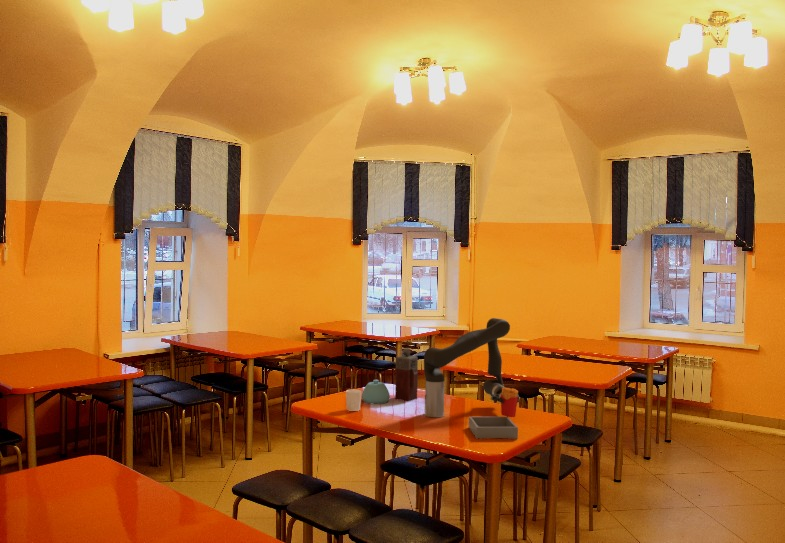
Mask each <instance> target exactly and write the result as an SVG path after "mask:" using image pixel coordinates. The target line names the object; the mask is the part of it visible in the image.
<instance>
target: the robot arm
mask: <svg viewBox="0 0 785 543" xmlns="http://www.w3.org/2000/svg"><path fill="white" fill-rule="evenodd" d="M510 329H511V325H510V322H509V321H507V320H506V319H503V318H497V317H492V318H490V319H489V320H488V321H487V323H486V328H481V329H477V330H476V329H475V330H472V331H468V332H466V333H464V334H462V335H460V336H459V337H458V338H457V339H456V340H455V341H454V342H453V344H451V345H449V346H447V347H444V348H436V347H428V349H426V350H425V353H424V354H423V373H424V378H425V394H424V415H425V417H429V418H442V417H444V415H445V414H444V413H445V375H444V373H442V372H443V371H441V368H444V367H445V366H447V365H449V364H450V363H452V362H453V361H455V360H456V359H458V358H460V357H462V356H465V355H466V354H468V353H471V352H473V351H474V350H477V349H478V348H480V347H482V346H484V345H486V344H487V351H488V352H487V354H488V362H487V363H488V364H487V365H488V366H487V374H488V375H489V376H492V377H495V378H496V379H486V380H485V381H484V382H483V384H482V389H483V391H484V392H485V393H486V394H488V395H489V396H490V400H491V401H493V402H495V403H497V402H498V403H500V404H501V403H502V404H503V402H504V399H503V398H501V394H502V388H506V387H505V386H504V382H503V377H502V365H503V362H502V361H503V359H502V356H501V352H500V348H499V345H498V339H500V338H503V337H505V336H507V335H508V334H509V332H510ZM517 397H518V399H517V404H518V403H519V402H520V395H519V394H518V395H517Z"/></svg>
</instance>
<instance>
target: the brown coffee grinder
mask: <svg viewBox="0 0 785 543" xmlns="http://www.w3.org/2000/svg"><path fill="white" fill-rule="evenodd" d="M418 360H419V359H418V356H417V355H416V356H415V355H411V348H409V347H405V348H404V349H403V354H402V355H399V356H398V355H397V356H396V357H395V389H394V390H395V396H394V400H397V399H398V400H399V401H403V400H404V401H405V402H411V401H414V400H416V399H418V384H419V383H418V381H419V380H418V379H419V378H418V376H419V374H418V370H419V369H418V365H419V364H418V363H419V361H418Z"/></svg>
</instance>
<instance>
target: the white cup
mask: <svg viewBox="0 0 785 543" xmlns="http://www.w3.org/2000/svg"><path fill="white" fill-rule="evenodd" d="M362 393H363V390H361V389H357V388H356V389H354V388H352V389H347V390H346V391H345V401H346V402H345V404H346V411H347V410H349V411H358V412H360V411H361V404H362ZM359 410H360V411H359ZM349 411H348V412H349Z"/></svg>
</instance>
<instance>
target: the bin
mask: <svg viewBox="0 0 785 543" xmlns="http://www.w3.org/2000/svg"><path fill="white" fill-rule="evenodd" d="M469 428H470V429H469ZM468 429H469V430H470V432H471V433H472V434H473V436H474V435H475V436H474V437H475V439H476V438H477V439H476V440H486V439H485V438H508V439H507V440H517V439H519V436H518V435H519V427H518V425H516V424H515V423H514V422H513V421H512V420H511V418H510V417H507V416H468ZM478 438H480V439H478ZM482 438H484V439H482Z"/></svg>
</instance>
